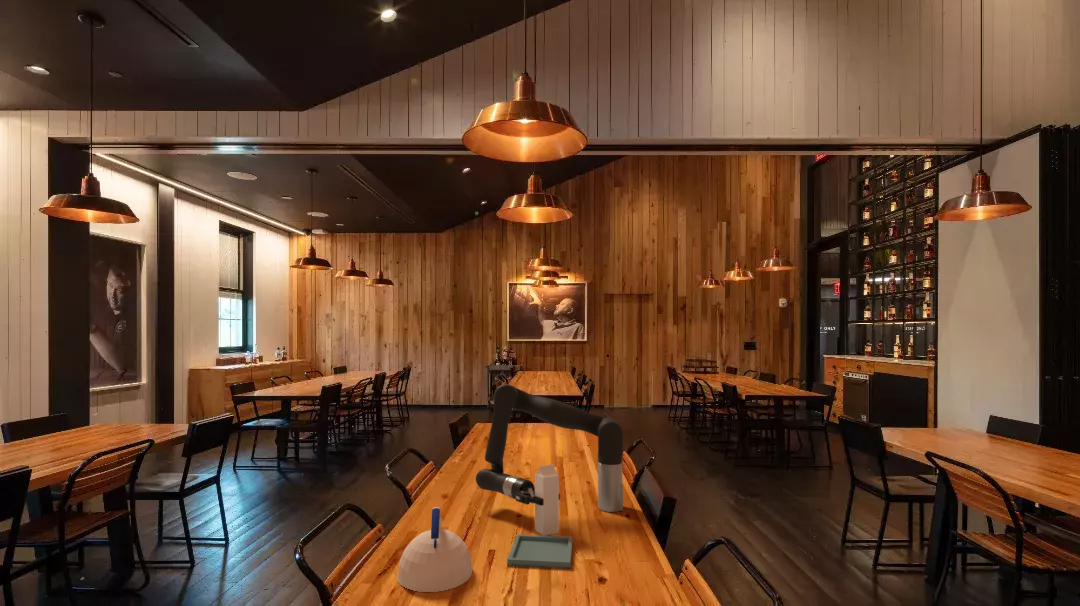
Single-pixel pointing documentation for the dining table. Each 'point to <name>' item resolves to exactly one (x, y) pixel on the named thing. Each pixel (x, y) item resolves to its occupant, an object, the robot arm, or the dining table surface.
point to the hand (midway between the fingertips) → (551, 499)
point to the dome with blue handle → (435, 560)
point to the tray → (541, 551)
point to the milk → (547, 500)
